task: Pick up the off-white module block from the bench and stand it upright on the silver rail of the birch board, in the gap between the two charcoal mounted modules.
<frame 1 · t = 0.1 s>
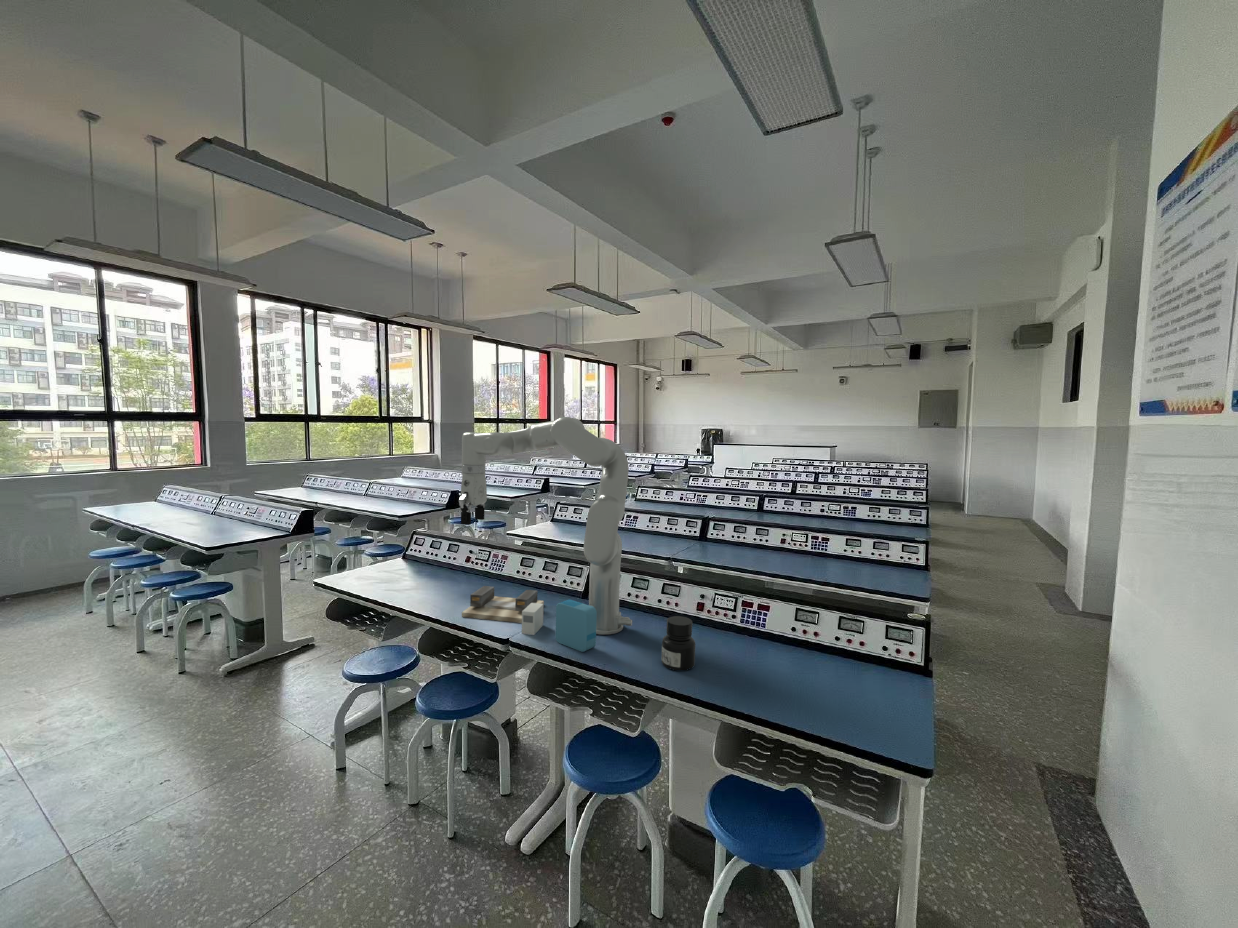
hand: (472, 521, 166), 31 cm above the table, tool pointing down, fingers open, 9 cm apart
light blue flat block: (575, 645, 146), on the table
module block: (532, 629, 157), on the table
rail board: (504, 610, 172), on the table
ink bottle: (677, 665, 136), on the table
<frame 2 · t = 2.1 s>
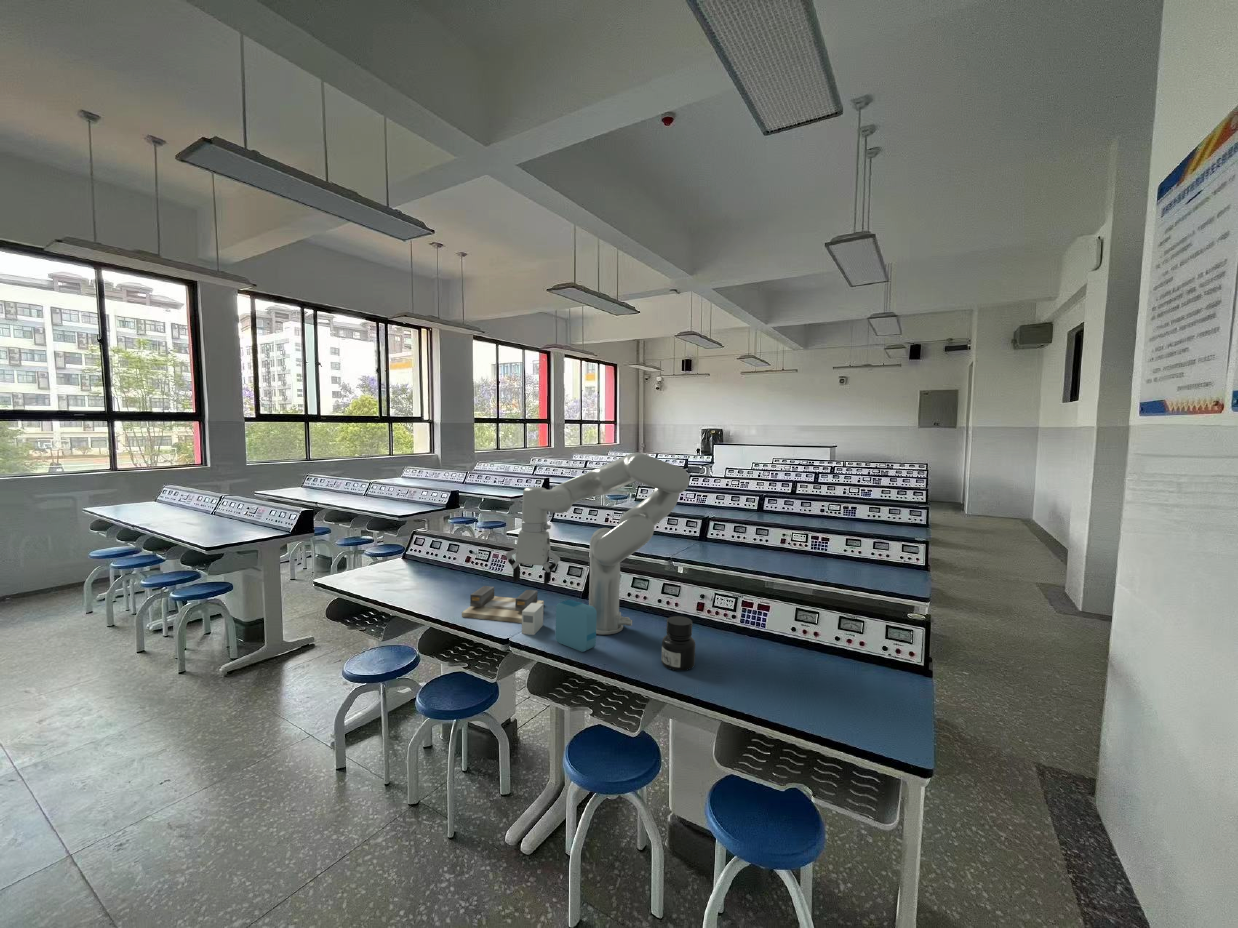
hand: (531, 582, 156), 15 cm above the table, tool pointing down, fingers open, 9 cm apart
nothing on the table moved.
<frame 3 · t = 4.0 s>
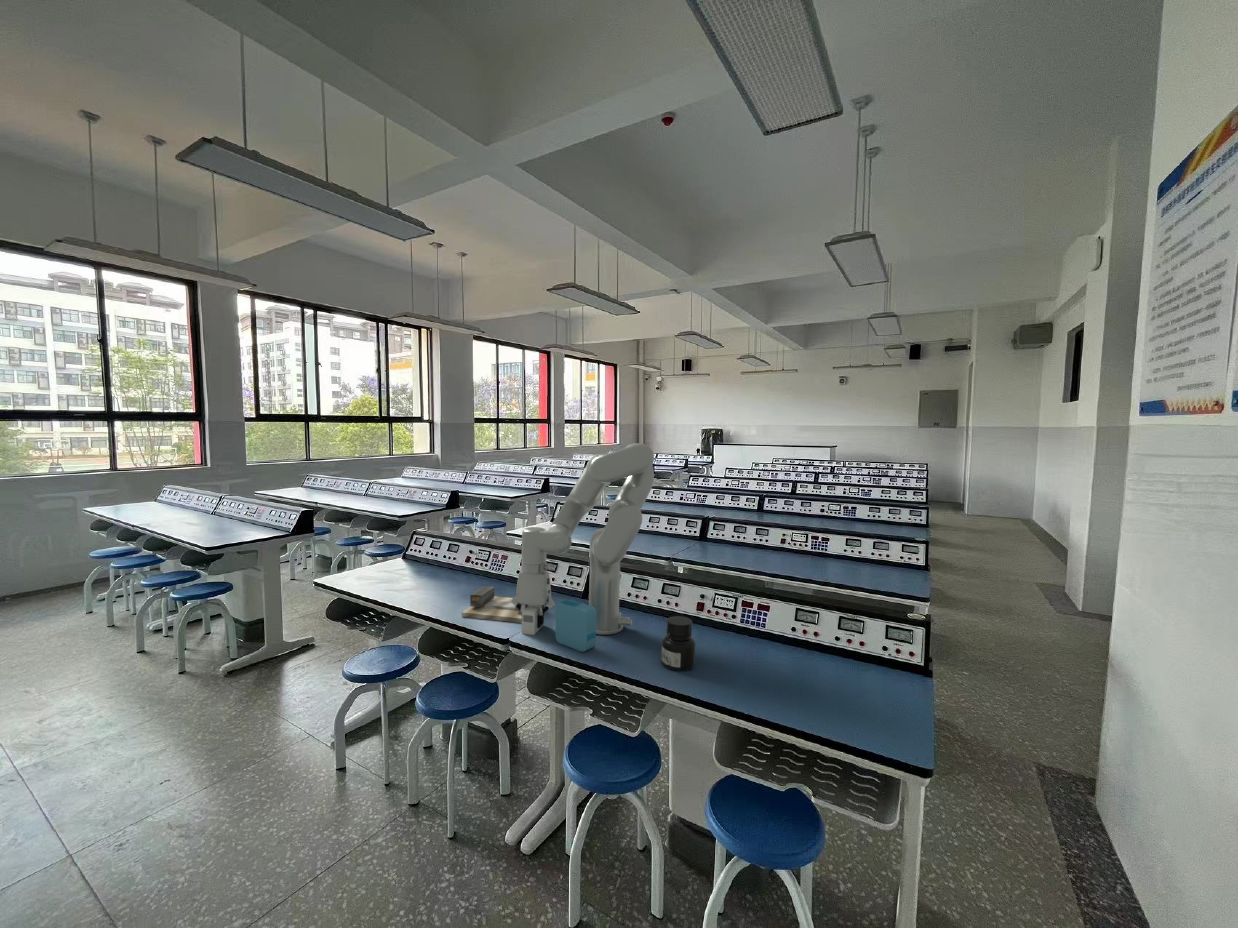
hand: (532, 625, 157), 1 cm above the table, tool pointing down, fingers closed on module block, 4 cm apart
module block: (532, 629, 157), on the table, touching gripper
everything else where it was.
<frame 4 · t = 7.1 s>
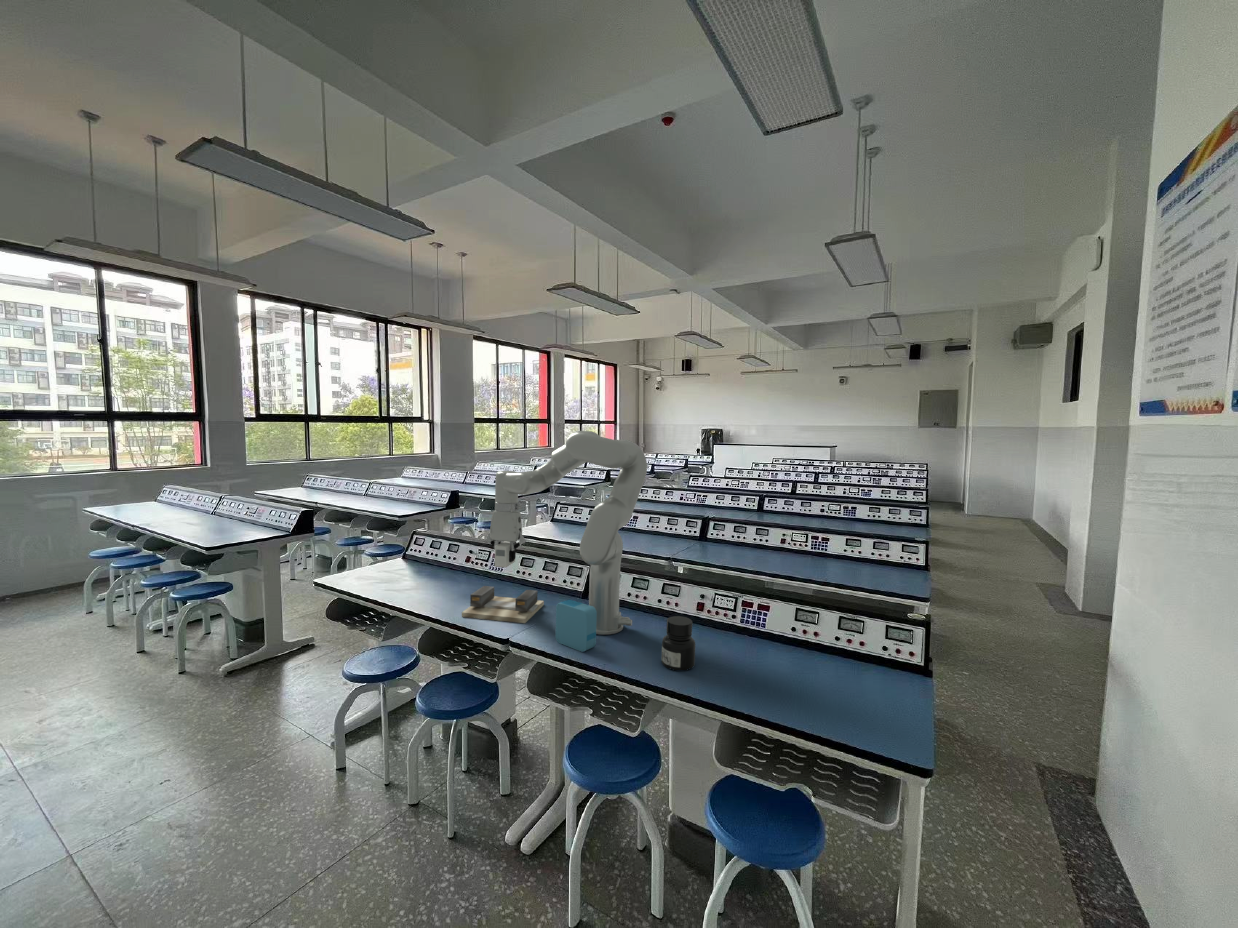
hand: (505, 560, 171), 18 cm above the table, tool pointing down, fingers closed on module block, 4 cm apart
module block: (505, 564, 171), point 16 cm above the table, touching gripper
everything else where it was.
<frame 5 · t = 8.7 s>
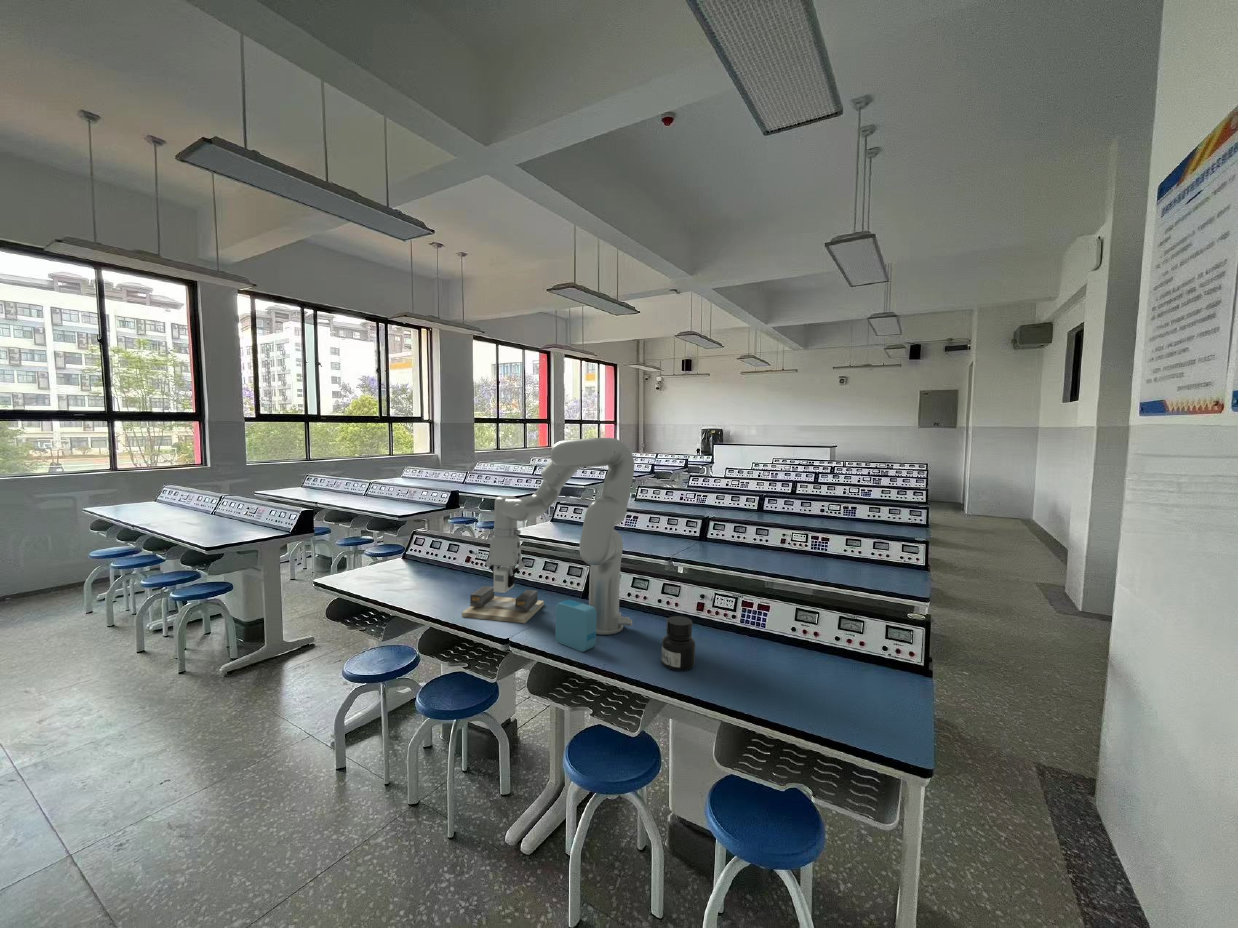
hand: (504, 585, 172), 9 cm above the table, tool pointing down, fingers closed on module block, 4 cm apart
module block: (503, 588, 172), point 8 cm above the table, touching gripper
everything else where it was.
when the fingers open (6 cm above the table, at t = 10.1 s): module block drops 2 cm, resting on rail board.
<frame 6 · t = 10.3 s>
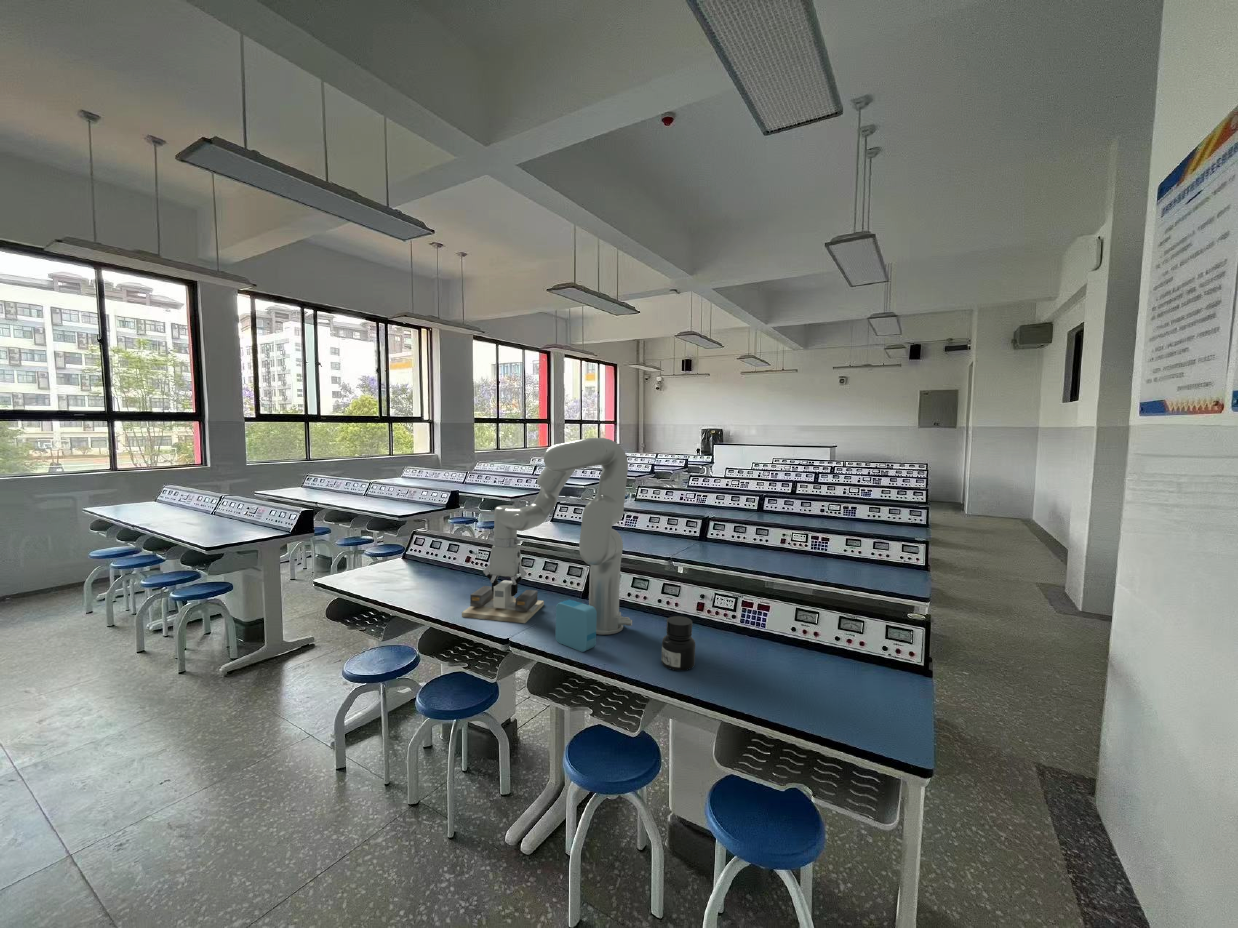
hand: (504, 593, 172), 6 cm above the table, tool pointing down, fingers open, 6 cm apart
module block: (504, 604, 172), point 2 cm above the table, touching rail board
everything else where it was.
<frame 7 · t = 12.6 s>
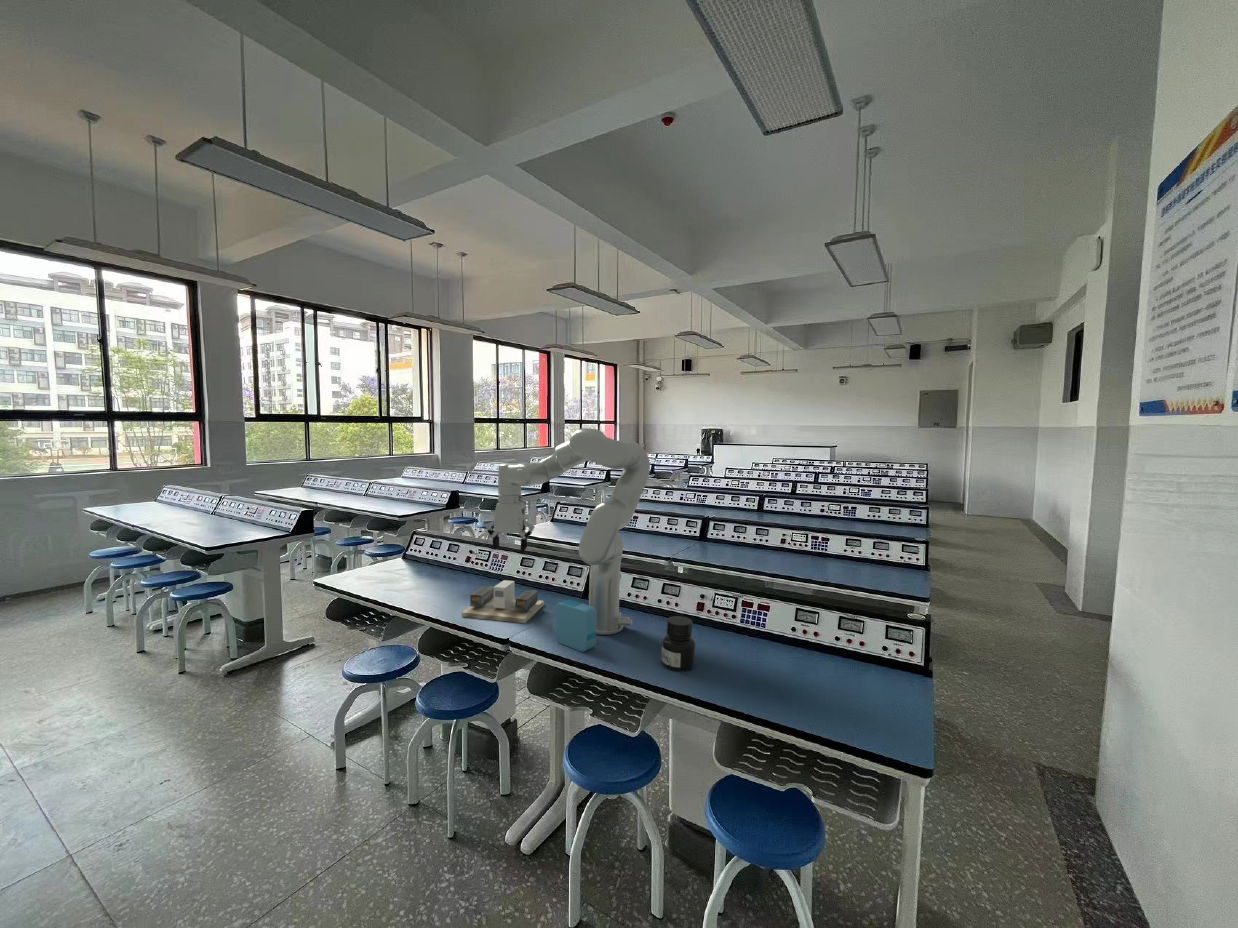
hand: (509, 549, 172), 21 cm above the table, tool pointing down, fingers open, 9 cm apart
nothing on the table moved.
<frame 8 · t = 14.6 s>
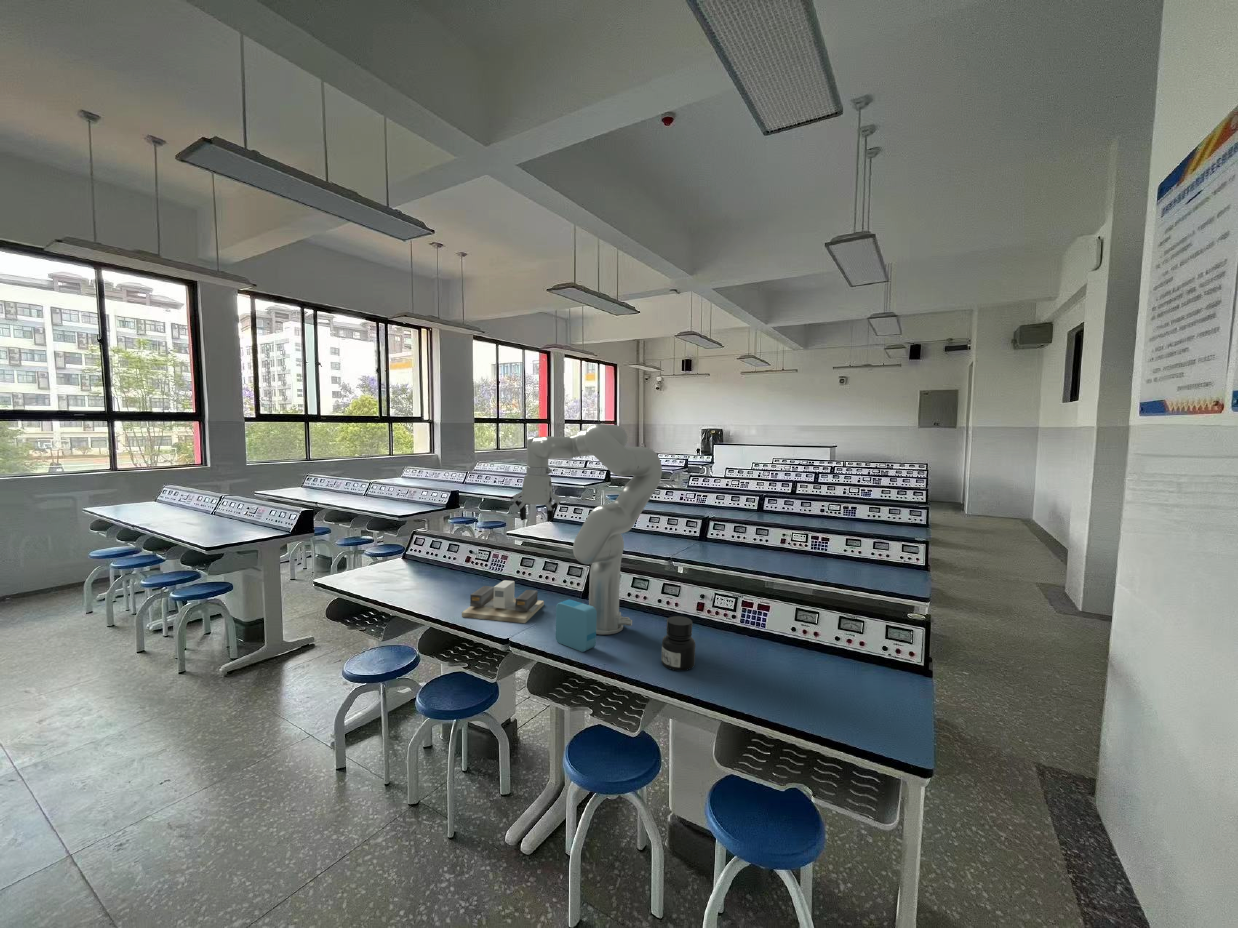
hand: (536, 520, 177), 30 cm above the table, tool pointing down, fingers open, 9 cm apart
nothing on the table moved.
at the end: module block 0.1 cm off-centre on the rail board, point 2.3 cm above the rail board's base; module block tilted 0°; the gripper is holding nothing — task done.
